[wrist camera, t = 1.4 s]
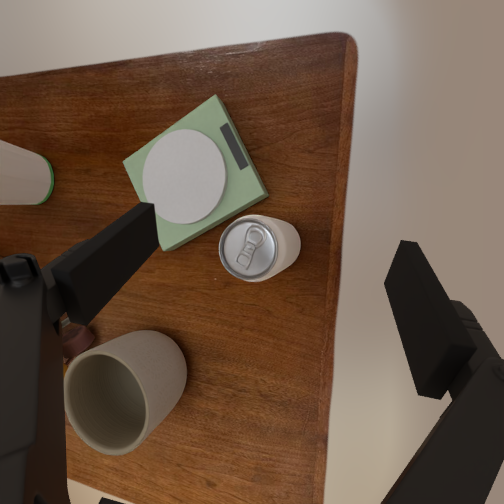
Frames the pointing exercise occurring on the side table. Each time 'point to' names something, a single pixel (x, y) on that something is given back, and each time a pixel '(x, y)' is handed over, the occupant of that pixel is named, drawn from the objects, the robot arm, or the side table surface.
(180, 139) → the scale
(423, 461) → the robot arm
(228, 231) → the can
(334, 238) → the side table surface
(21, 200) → the cup
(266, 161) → the side table surface
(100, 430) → the planter
